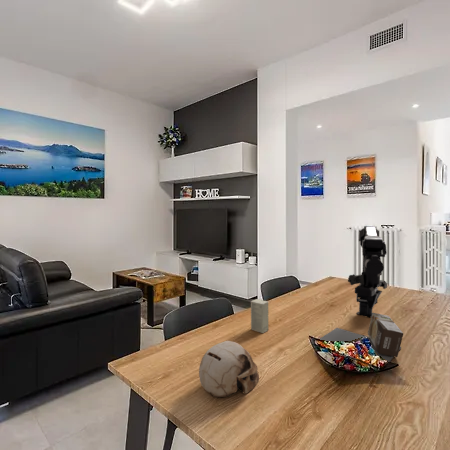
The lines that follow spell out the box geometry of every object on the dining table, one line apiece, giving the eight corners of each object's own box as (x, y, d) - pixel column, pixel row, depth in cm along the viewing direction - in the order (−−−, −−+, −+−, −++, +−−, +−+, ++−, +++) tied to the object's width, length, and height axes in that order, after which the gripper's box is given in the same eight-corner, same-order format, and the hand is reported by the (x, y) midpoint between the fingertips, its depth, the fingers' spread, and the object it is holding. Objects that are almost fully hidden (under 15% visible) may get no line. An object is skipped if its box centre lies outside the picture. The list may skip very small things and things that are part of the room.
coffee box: (371, 311, 116) (383, 327, 101) (389, 315, 115) (403, 332, 99) (366, 334, 117) (377, 353, 101) (384, 338, 116) (398, 358, 100)
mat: (337, 328, 125) (337, 327, 125) (401, 348, 108) (401, 346, 108) (313, 344, 111) (313, 342, 111) (382, 369, 94) (382, 367, 94)
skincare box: (268, 330, 123) (269, 301, 122) (262, 333, 120) (263, 304, 119) (256, 326, 127) (256, 298, 126) (250, 329, 124) (250, 300, 123)
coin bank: (260, 371, 92) (259, 330, 90) (254, 414, 75) (252, 366, 73) (211, 366, 95) (209, 328, 93) (195, 407, 79) (192, 361, 77)
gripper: (360, 263, 129) (358, 299, 130) (341, 269, 116) (340, 308, 117) (388, 267, 121) (386, 305, 122) (372, 274, 108) (370, 316, 109)
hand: (370, 308), depth 118 cm, fingers closed
